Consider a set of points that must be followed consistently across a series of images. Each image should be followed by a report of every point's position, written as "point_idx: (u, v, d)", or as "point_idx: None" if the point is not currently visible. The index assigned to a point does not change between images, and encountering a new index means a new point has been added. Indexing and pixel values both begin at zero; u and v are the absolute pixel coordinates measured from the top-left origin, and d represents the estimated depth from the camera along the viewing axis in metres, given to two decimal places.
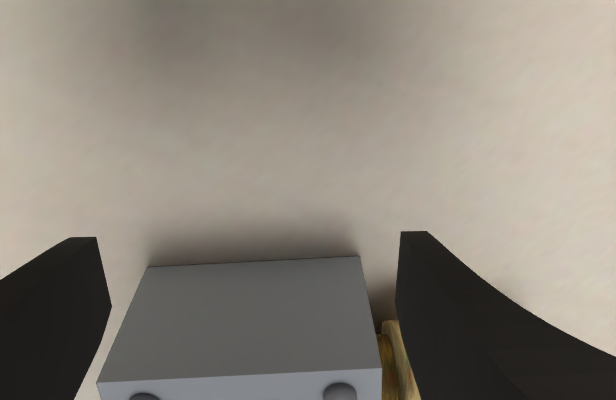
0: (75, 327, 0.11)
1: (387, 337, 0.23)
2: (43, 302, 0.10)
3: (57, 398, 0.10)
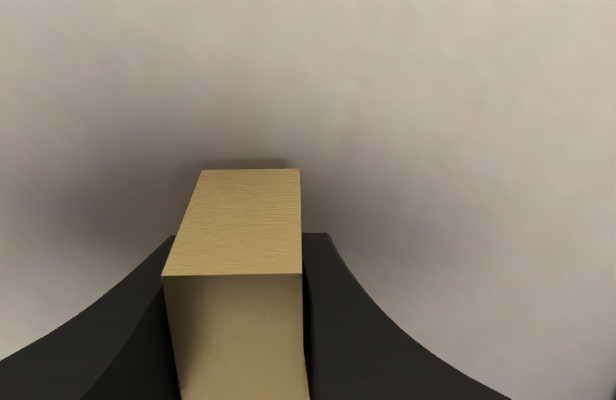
0: None
1: None
2: None
3: (175, 396, 0.10)
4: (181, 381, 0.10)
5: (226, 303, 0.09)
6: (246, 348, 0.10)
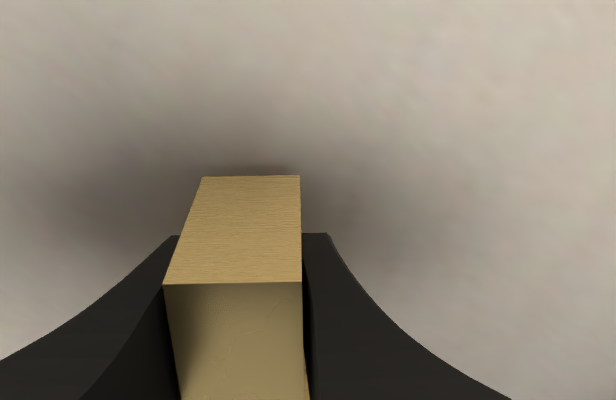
0: None
1: None
2: None
3: (175, 395, 0.10)
4: (182, 388, 0.10)
5: (227, 311, 0.09)
6: (247, 355, 0.10)
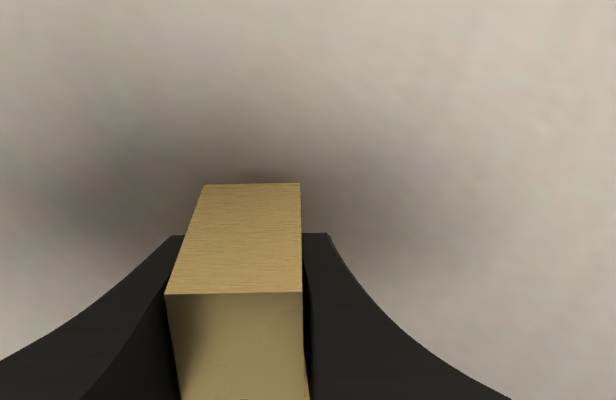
0: None
1: None
2: None
3: (175, 395, 0.10)
4: (184, 396, 0.10)
5: (228, 320, 0.09)
6: (248, 364, 0.10)
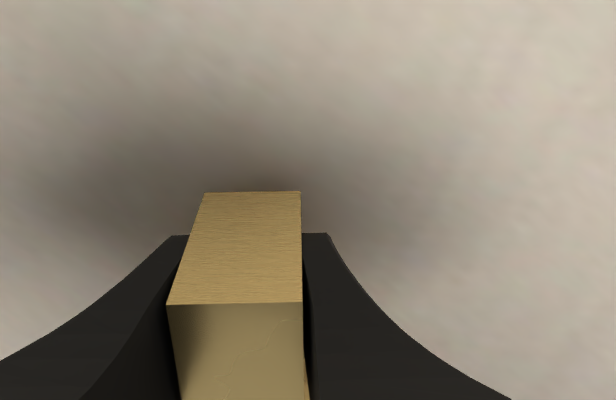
0: None
1: None
2: None
3: (175, 395, 0.10)
4: None
5: (229, 330, 0.09)
6: (249, 372, 0.10)
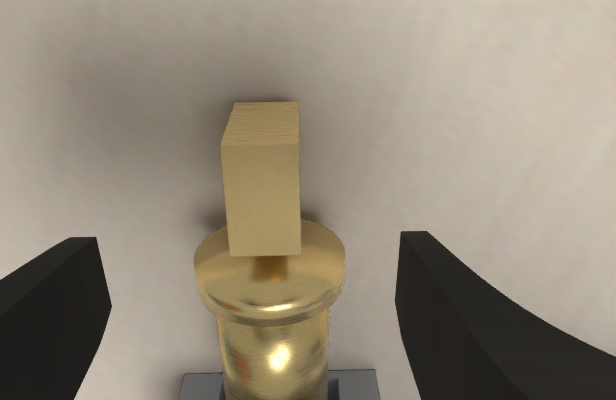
0: (75, 327, 0.11)
1: None
2: (43, 302, 0.10)
3: (57, 398, 0.10)
4: (228, 216, 0.17)
5: (256, 163, 0.16)
6: (267, 193, 0.17)
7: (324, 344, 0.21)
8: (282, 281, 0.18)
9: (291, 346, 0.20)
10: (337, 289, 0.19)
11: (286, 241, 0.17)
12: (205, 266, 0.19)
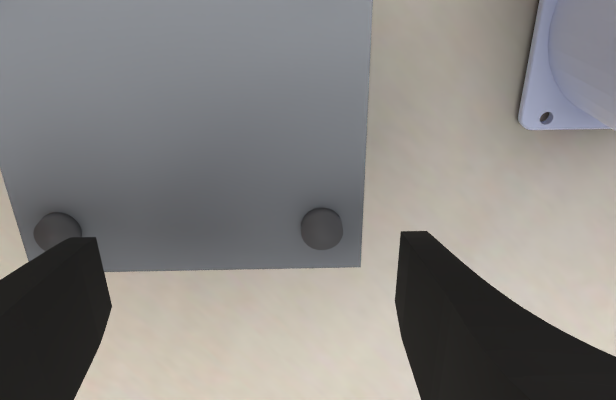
0: (75, 327, 0.11)
1: None
2: (43, 302, 0.10)
3: (57, 398, 0.10)
4: None
5: None
6: None
7: None
8: None
9: None
10: None
11: None
12: None
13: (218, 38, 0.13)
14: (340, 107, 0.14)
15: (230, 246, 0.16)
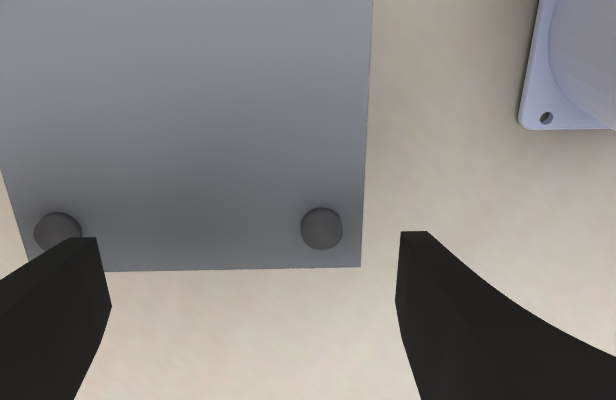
0: (75, 327, 0.11)
1: None
2: (43, 302, 0.10)
3: (57, 398, 0.10)
4: None
5: None
6: None
7: None
8: None
9: None
10: None
11: None
12: None
13: (218, 38, 0.13)
14: (340, 107, 0.14)
15: (230, 246, 0.16)
